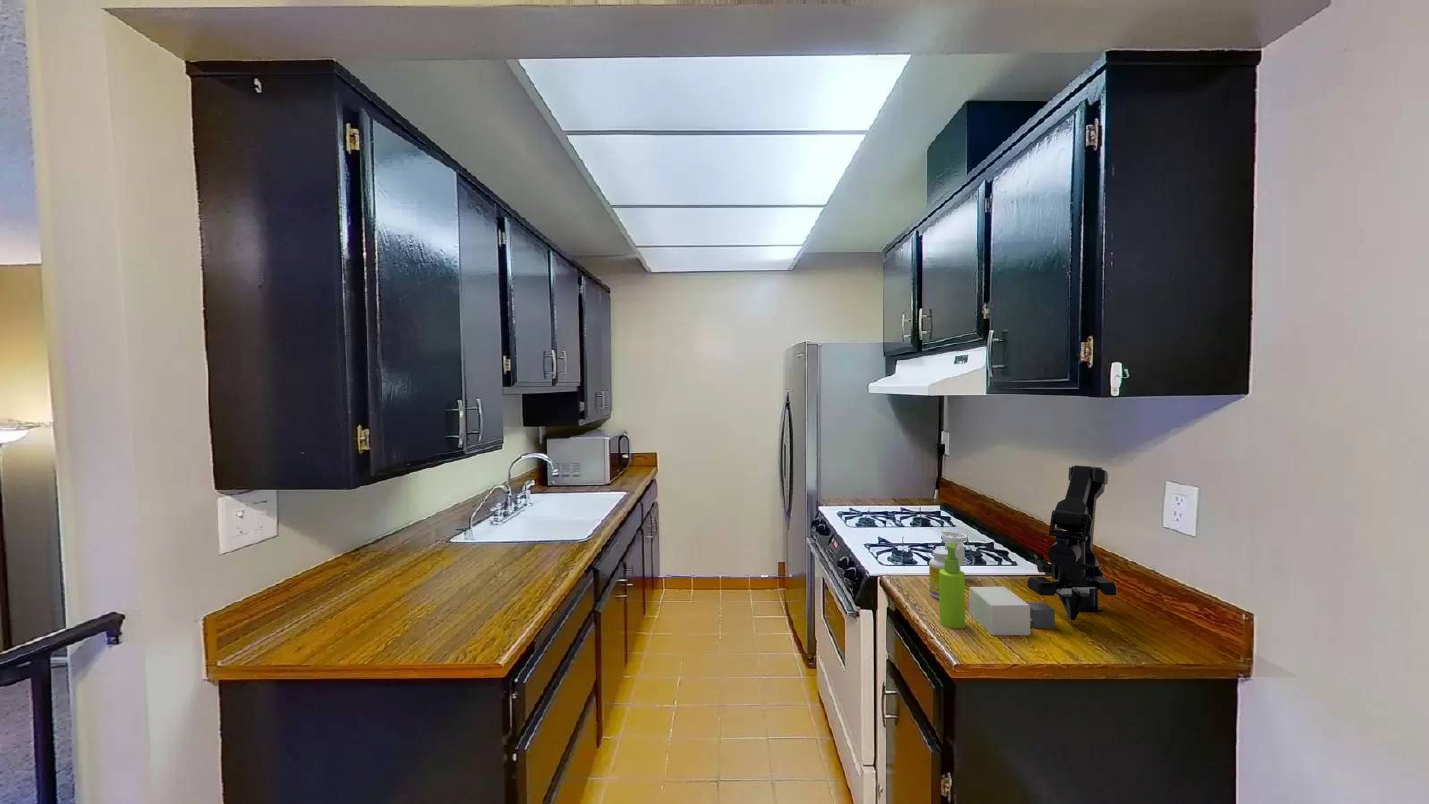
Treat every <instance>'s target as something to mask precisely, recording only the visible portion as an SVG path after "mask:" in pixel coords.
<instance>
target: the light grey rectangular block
mask: <svg viewBox="0 0 1429 804" xmlns="http://www.w3.org/2000/svg"><path fill="white" fill-rule="evenodd" d="M968 591H969V593H968V594H969V596H968V597H969V615H971V616H972V617H973V618H974V620H976V621H977V622H978V623H979V625H981V627H982V628H984V629H985V630H986V631H987V632H988V633H989V635H991V636H1031V625H1030V606H1029V605H1028V604H1027V603H1028V602H1026V601H1025V600H1023V599H1021V598H1020V597H1019V596H1018V595H1016V594H1014V593H1013V592H1012V591H1010V590H1009V589H1008V588H1007V587H1005V586H970V587H969V589H968Z"/></svg>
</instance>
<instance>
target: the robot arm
mask: <svg viewBox="0 0 1429 804" xmlns="http://www.w3.org/2000/svg"><path fill="white" fill-rule="evenodd" d="M1068 481H1069V483H1068V484H1069V485H1068V487H1067V491H1066V494H1065V497H1064V499H1062V500H1060V501H1058V502H1057V504H1056V506H1055V508H1054V509H1053V510H1052V512H1051V516H1050V521H1049V522H1050V523H1049V530H1048V536H1051V537H1055V542H1054V543H1053V544H1052V545H1050V547H1049V548H1048V550H1047V557H1048V559H1049V561H1050V563H1049V562H1048V560H1046V559H1037V560H1036V569H1037V570H1036V571H1037V573H1039V574H1040V573H1041V574H1042V573H1043V574H1044V576H1030V577H1029V578H1028V579H1027V581H1026V582H1027V583H1026V584H1027V588H1028V589H1029V590H1031V591H1033V593H1036V594H1037V595H1038V596H1043V597H1045V596H1046V597H1047V596H1055V595H1057V597H1059V599H1060V601H1061V603H1062V606H1063V607H1064V611H1065V613H1066V614H1067V617H1068V619H1069V620H1070V621H1075V620H1076V619H1077V617H1078V615H1079V614H1080V612H1103V608H1101V607H1099V591H1100V592H1101V593H1102V594H1103V595H1104V596H1117V595H1118V587H1117V585H1116V584H1115V582H1113V581H1111V580H1109V579H1107V578H1106V577H1104V572H1103V571H1102V569H1101V566H1099V561H1098V559H1097V556H1096V555H1095V554H1094V552H1093V544H1094V543H1093V542H1094V533H1095V532H1094V531H1095V523H1096V522H1095V521H1096V520H1095V519H1096V508H1097V500H1098V499H1099V497H1101V495H1103V494H1104V493H1105V486H1106V485H1108V484H1109V483H1108V482H1109V474H1108V471H1106V470H1104V469H1103V467H1099V466H1091V465H1089V466H1088V465H1078V464H1077V465H1072V466H1071V467H1070V466H1069V467H1068ZM1050 576H1051V579H1054V581H1052V580H1050V579H1048V578H1047V577H1050ZM1055 580H1057V581H1055Z"/></svg>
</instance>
